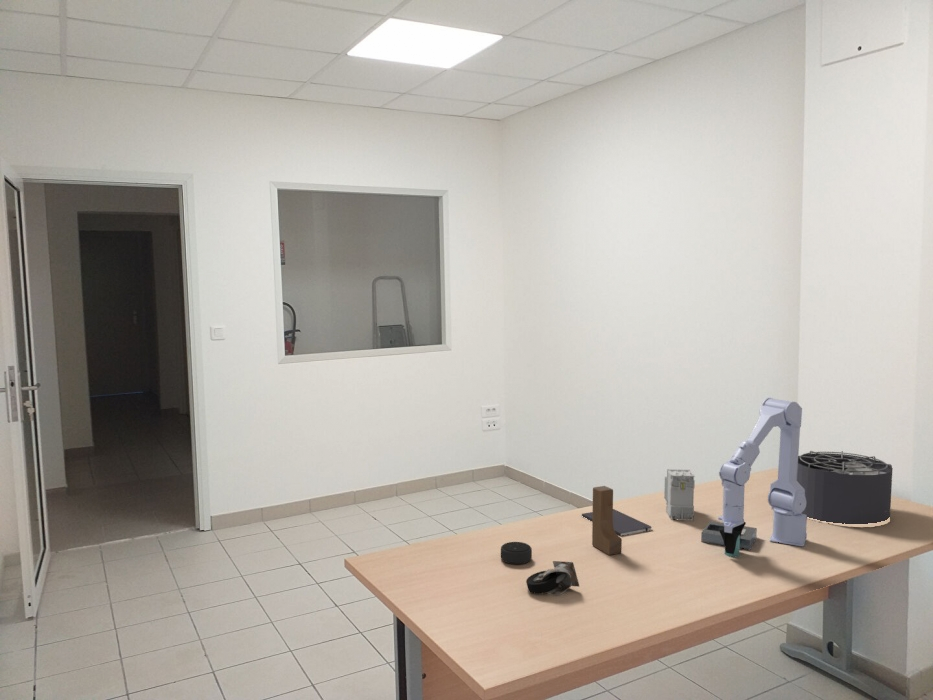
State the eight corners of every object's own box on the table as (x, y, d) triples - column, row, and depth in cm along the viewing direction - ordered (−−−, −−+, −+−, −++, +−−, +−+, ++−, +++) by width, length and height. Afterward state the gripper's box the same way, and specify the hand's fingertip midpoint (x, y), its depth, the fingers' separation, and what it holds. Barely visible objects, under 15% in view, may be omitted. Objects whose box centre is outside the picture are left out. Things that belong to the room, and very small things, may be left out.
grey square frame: (756, 537, 227) (756, 527, 227) (749, 550, 217) (750, 539, 217) (709, 530, 234) (710, 520, 234) (701, 541, 224) (701, 531, 223)
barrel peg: (740, 553, 214) (741, 533, 214) (737, 557, 211) (738, 537, 210) (726, 550, 216) (726, 531, 216) (723, 555, 213) (723, 535, 212)
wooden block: (622, 553, 215) (622, 493, 213) (609, 555, 213) (610, 495, 211) (604, 543, 223) (604, 485, 221) (591, 545, 221) (592, 487, 219)
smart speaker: (534, 555, 214) (534, 542, 213) (528, 567, 205) (528, 553, 205) (504, 552, 216) (504, 539, 216) (497, 564, 208) (497, 550, 207)
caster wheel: (524, 600, 190) (546, 582, 197) (559, 604, 182) (580, 585, 189) (517, 575, 190) (540, 559, 197) (552, 578, 182) (574, 561, 189)
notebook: (581, 518, 248) (620, 538, 229) (581, 513, 248) (620, 533, 229) (612, 512, 254) (652, 531, 234) (612, 508, 253) (652, 527, 234)
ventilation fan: (897, 475, 229) (792, 465, 242) (894, 533, 230) (790, 520, 243) (890, 454, 255) (795, 446, 268) (887, 506, 257) (793, 495, 270)
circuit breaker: (685, 507, 258) (686, 465, 256) (693, 520, 244) (694, 476, 242) (663, 506, 258) (664, 464, 257) (670, 519, 244) (671, 475, 243)
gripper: (723, 495, 220) (722, 539, 222) (713, 508, 208) (712, 555, 209) (748, 498, 217) (747, 543, 218) (740, 512, 204) (738, 559, 206)
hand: (732, 549), depth 214 cm, fingers open, 6 cm apart
